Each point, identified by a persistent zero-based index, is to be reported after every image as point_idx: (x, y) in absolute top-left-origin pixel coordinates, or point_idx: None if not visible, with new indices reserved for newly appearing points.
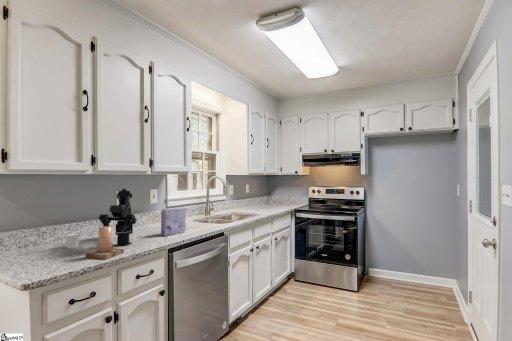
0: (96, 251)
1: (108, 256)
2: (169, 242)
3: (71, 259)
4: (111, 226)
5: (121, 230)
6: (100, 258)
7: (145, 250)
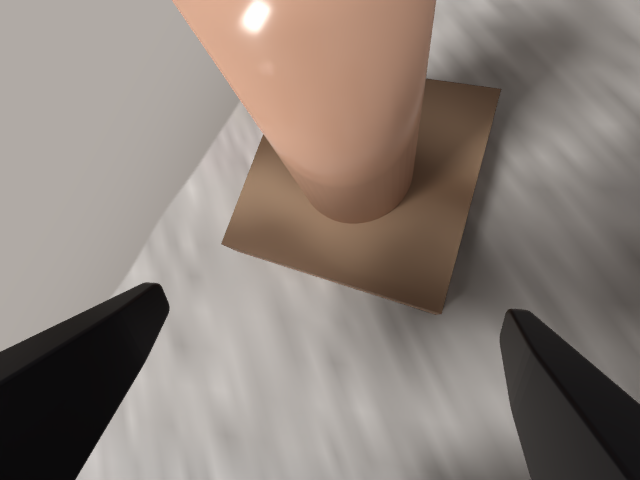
0: (438, 162)
1: None
2: None
3: (586, 63)
4: (188, 12)
5: (133, 289)
6: None
7: None
